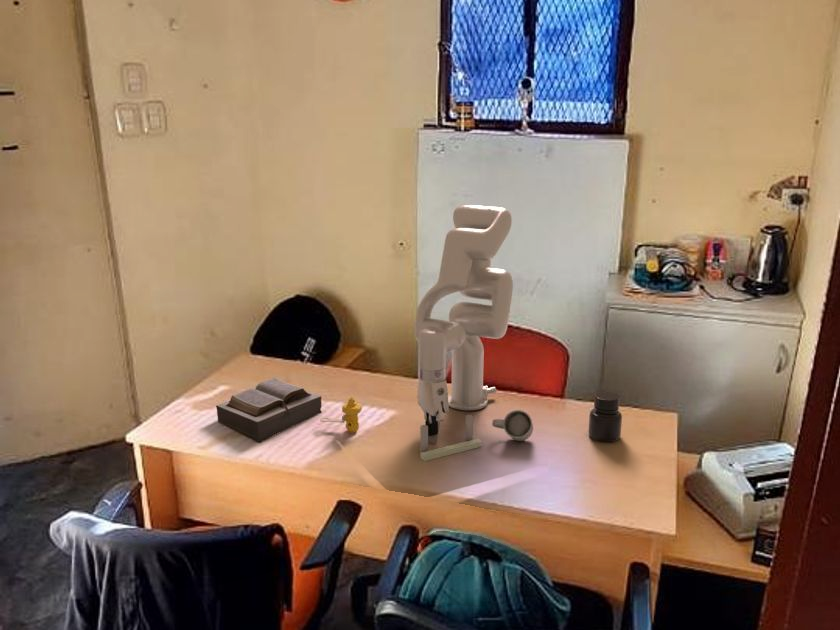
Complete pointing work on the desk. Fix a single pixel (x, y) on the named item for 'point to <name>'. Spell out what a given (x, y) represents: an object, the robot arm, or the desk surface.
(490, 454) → the desk surface
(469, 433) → the peg rack
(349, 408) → the pressure relief valve
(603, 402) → the ink bottle
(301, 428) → the desk surface
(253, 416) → the bible
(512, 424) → the ceramic mug
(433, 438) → the half round rod
